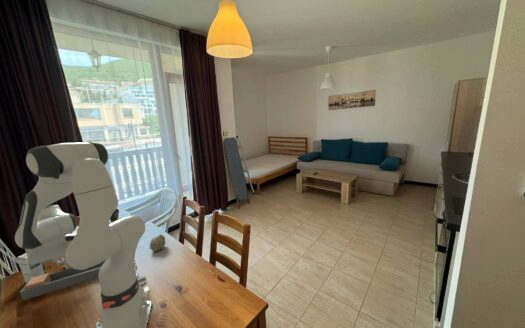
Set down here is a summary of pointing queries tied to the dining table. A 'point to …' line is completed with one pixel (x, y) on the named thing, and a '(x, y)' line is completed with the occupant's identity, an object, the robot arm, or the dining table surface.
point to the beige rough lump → (157, 243)
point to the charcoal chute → (61, 281)
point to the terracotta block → (38, 280)
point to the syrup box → (30, 268)
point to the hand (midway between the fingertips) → (62, 264)
